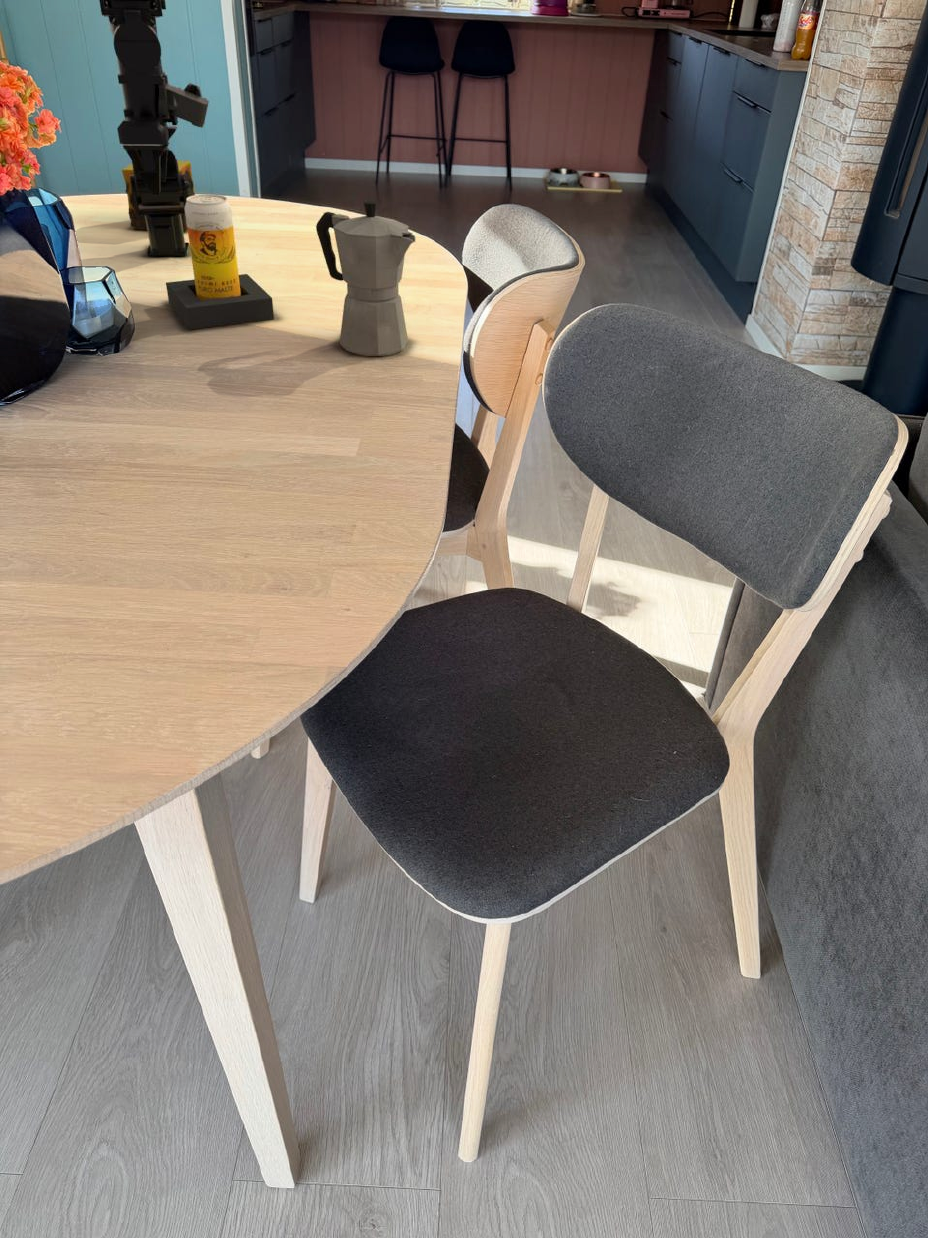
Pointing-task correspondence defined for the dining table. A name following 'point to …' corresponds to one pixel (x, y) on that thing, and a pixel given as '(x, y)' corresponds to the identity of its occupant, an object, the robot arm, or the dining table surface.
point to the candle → (140, 221)
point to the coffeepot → (368, 278)
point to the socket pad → (220, 305)
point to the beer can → (212, 246)
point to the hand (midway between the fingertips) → (159, 188)
